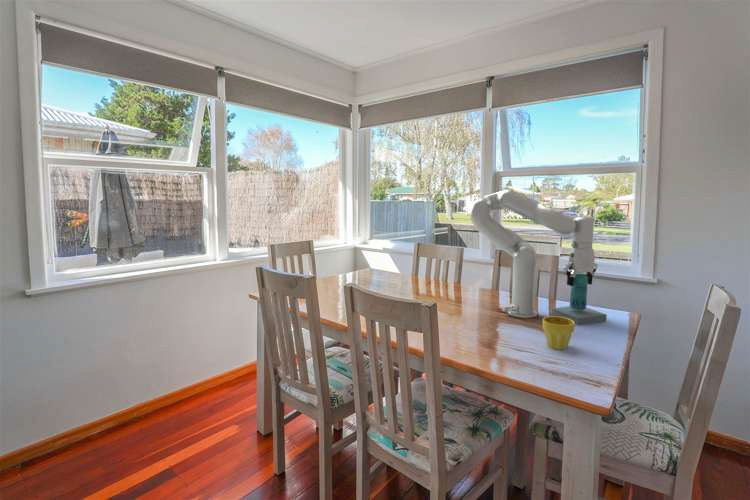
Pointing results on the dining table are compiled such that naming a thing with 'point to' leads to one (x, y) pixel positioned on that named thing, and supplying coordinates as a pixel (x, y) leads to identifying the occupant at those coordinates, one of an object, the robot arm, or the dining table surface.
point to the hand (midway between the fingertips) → (579, 284)
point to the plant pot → (558, 331)
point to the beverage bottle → (579, 292)
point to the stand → (580, 315)
